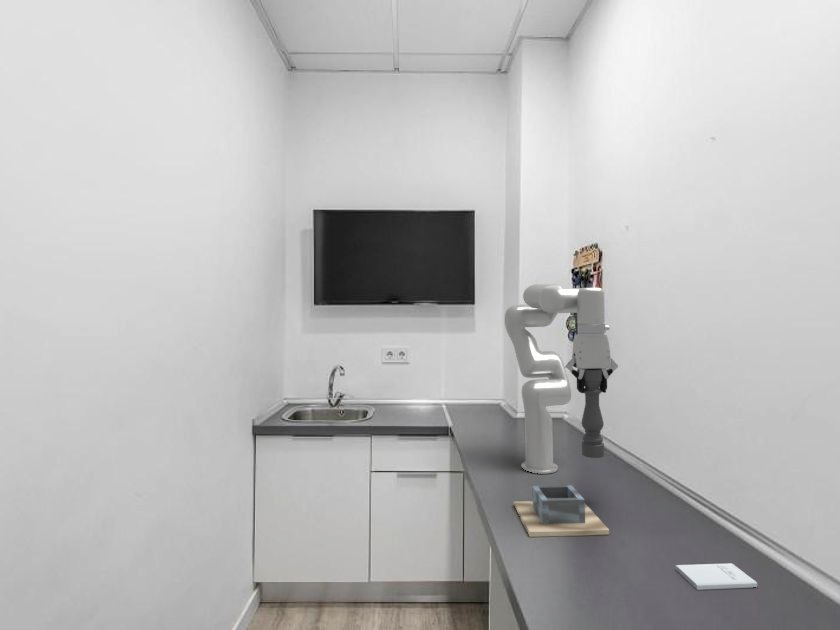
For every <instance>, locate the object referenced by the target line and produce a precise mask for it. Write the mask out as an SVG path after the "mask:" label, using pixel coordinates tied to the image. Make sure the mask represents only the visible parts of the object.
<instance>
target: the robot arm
mask: <svg viewBox="0 0 840 630" xmlns="http://www.w3.org/2000/svg"><path fill="white" fill-rule="evenodd" d="M522 299H523V301H524V304H515V305H512V306H510V307H508V308H507V309H506V311H505V313H504V326H505V329H506V333H507V335H508V337H509V338H510V339H509V340H510V341H511V343H512V346H513V348H514V352H515V357H516V361H517V364H518V367H519V371H520V373H521V375H522V377H524V378H527V379H531V380H528V381H526V382H525V383H524V384H523V385H522V387H521V396H522V397H521V398H522V403H523V410H524V436H525V438H524V440H525V441H524V442H525V443H524V444H525V446H524V449H525V461H523V462H522V463H521V464H520V467H522V468H523V469H524V470H523V469H522V468H521V469H522V470H523V471H525V470H526V471H525V472H527V471H529V472H528V473H530V472H532V473H531V474H537V473H538V474H539V475H547V474H548V475H549V474H553V473H555V472H557V471H558V470H559V469H558V467H559V466H558V464H556V463H554V442H553V441H554V437H553V433H554V432H553V431H554V430H553V417H552V415H551V413H549V411H548V410H547V408H546V407H553V406H564V405H567V404H568V403H569V402H570V401H571V400H572V389H571V384H570V381H569V378H568V374H567V371H568V372H570V373H571V375H573V376H574V378H576V390H577V391H578V393H581V394H585V393H584V388H585V386H584V379H583V374H584V371H585V369H601V370H602V381H601V384H600V387H599V389H600V390H601V393H604V394H605V393H607V389H608V379H609V377H610V376H611V375H612V374H613V373H614V371H615V370H616V369H617V368H618V367H619V365H618V363H616V362H615V360H614V359H613V358H612V357H611V347H610V343H609V338H608V335H607V334H606V331H610V326H609V325H606V323H605V319H606V318H605V291H604V289H603V288H601V287H583V288H580V287H571V288H568V287H566V288H563V287H562V286H561V285H559V284H556V283H554V284H549V283H548V284H545V283H544V284H543V283H541V284H538V283H537V284H532V285H529V286H528V287H526V288H525V289H524V292H523V295H522ZM558 314H577V315H576V316H577V317H576V320H577V321H576V322H577V334H575V335H574V336H573V343H572V349H571V350H572V352H571V354H572V355H571V359H570V360H569V361H568V362H567V363H566V365H565V364H564V361H563V359H562V357H561V356H560V354H559V353H557V352H555V351H552V350H551V351H549V350H546V351H545V350H544V351H542V350H540V349H539V346H538V342H537V340H536V338H535V337H534V335H533V334H532V333H531V332H530V331H528V330H527V329H526V328H540V327H541V328H545V327H548V326H550V325H551V324H553V322H554V320H555V318H556V317H557V315H558ZM575 368H577V369H576V370H575ZM566 370H567V371H566ZM542 378H543V379H542ZM538 474H537V475H538Z"/></svg>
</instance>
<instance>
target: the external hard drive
mask: <svg viewBox="0 0 840 630" xmlns="http://www.w3.org/2000/svg"><path fill="white" fill-rule="evenodd" d="M674 569H675V571H676V572H678V573H679V574H680V575H681V576H682V577H683V578H684V579H685V580H686V581H688V583H689V584H690V585H691V586H692V587H694V589H696V591H697V590H698V591H700V590H701V591H705V590H726V589H727V590H728V589H749V588H751V589H752V588H753V587H756V588H758V582H757V580H755V579H753V578H752V577H751V576H749V575H748V574H746V572H744V571H743V570H741V569H740V568H739V567H738V566H736V565H735V564H734V563H732V562H731V563H729V562H728V563H705V564H704V563H703V564H700V563H699V564H698V563H697V564H676V565H674Z"/></svg>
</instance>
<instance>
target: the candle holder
mask: <svg viewBox="0 0 840 630" xmlns="http://www.w3.org/2000/svg"><path fill="white" fill-rule="evenodd" d="M583 379H584V393H583V394H584V396H585V397H584V401H585V405H584V409H583V414H582V418H581V425H582V426H581V427H583V429H584V433H585V434H584V435H583V436H582V442H581V455H582V456H583V457H586V458H590V459H600V458H603V457H605V444H604V438H603V437H602V435H601V431H602V430H603V428H604V418H603V415H602V411H601V408H600V395H601V393H602V392H601V390H600V389H599V387H600V384H601V381H602V370H601V369H585V371H584V374H583Z"/></svg>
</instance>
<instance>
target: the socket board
mask: <svg viewBox="0 0 840 630" xmlns="http://www.w3.org/2000/svg"><path fill="white" fill-rule="evenodd" d="M531 488H532V490H531V491H532V492H531V493H532V494H531V495H532V497H531V498H532V500H528V501H527V500H525V501H523V500H522V501H513V503H512V504H514V506H515V508H516V510H517V512H518V514H519V515H518V514H517V515H518V517H519V516H520V517H519V519H520V521H521V523H522V524H523V527H524V528H525V531H526V532H528V533H527V534H528V536H529V537H530V538H534V537H535V538H539V537H571V536H572V537H573V536H575V537H577V536H578V537H579V536H610V529H609V528H608V527H607V526H606V524H604V522H603V521H602V520H601V519H600V518H599V516H597V515H596V513H594V511H593V510H592V509H591V508H590V506H588V505H587V503H586V501H585V498H584V497H583V496H582V495H581V494H580V493H579V492H578V491H577V490H576V489H575V488H574V486H573V485H571V484H568V485H567V484H565V485H564V484H563V485H562V484H561V485H558V484H557V485H532V487H531ZM514 506H513V507H514ZM515 508H514V509H515ZM516 510H515V511H516ZM517 512H516V513H517Z"/></svg>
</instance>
